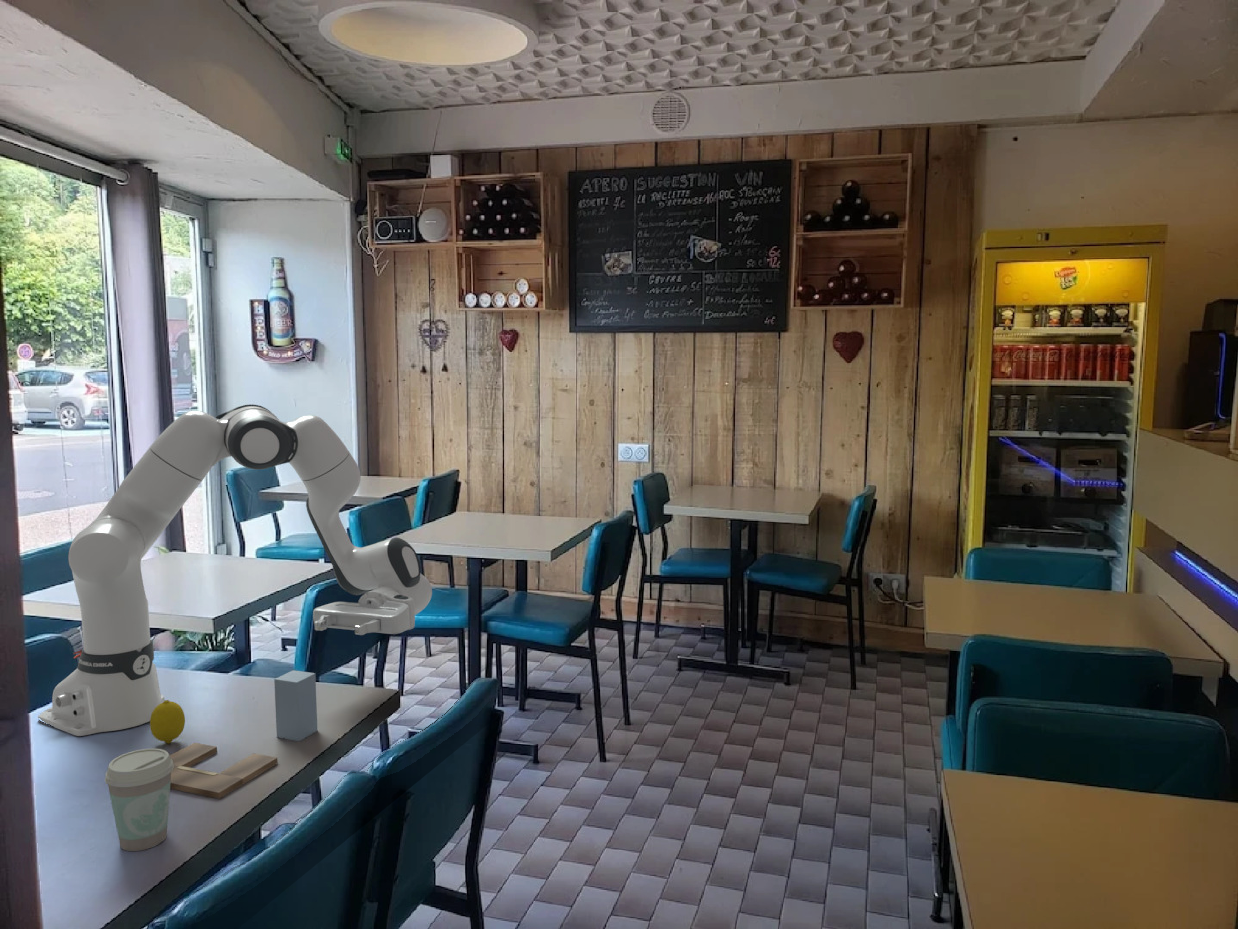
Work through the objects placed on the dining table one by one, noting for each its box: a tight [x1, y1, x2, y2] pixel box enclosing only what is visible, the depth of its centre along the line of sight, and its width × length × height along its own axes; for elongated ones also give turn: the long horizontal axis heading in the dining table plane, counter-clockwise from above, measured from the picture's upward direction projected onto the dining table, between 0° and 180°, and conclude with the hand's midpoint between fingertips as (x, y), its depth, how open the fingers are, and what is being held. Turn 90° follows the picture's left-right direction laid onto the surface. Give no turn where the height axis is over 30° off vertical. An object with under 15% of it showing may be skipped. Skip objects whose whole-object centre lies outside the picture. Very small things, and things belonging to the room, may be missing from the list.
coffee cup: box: [104, 748, 174, 852], centre depth 121 cm, size 9×9×12 cm
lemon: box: [149, 699, 186, 744], centre depth 154 cm, size 6×6×8 cm
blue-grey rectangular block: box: [273, 669, 318, 742], centre depth 158 cm, size 5×5×11 cm
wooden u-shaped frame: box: [169, 742, 279, 800], centre depth 143 cm, size 18×13×1 cm
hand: (337, 628), depth 168 cm, fingers open, 8 cm apart
